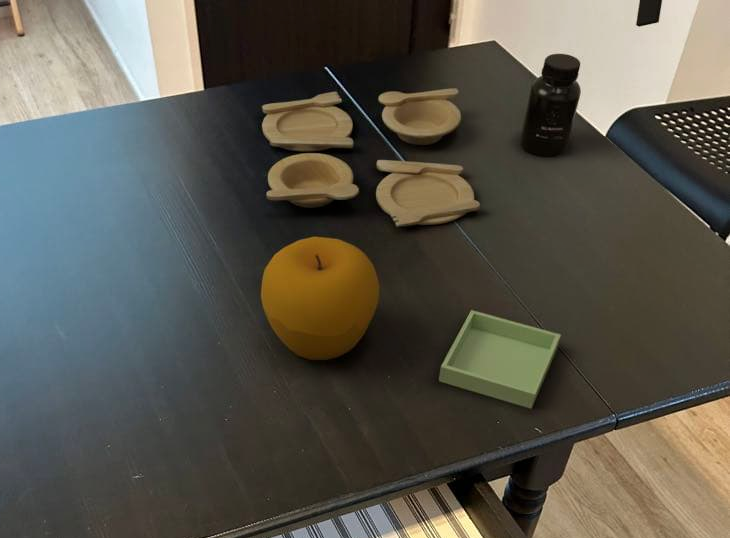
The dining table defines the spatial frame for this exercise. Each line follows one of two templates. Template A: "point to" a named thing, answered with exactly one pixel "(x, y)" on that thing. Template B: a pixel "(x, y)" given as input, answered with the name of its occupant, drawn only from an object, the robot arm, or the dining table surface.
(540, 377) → the tray
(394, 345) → the dining table surface
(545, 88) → the supplement bottle
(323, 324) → the apple
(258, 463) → the dining table surface
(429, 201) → the tableware set
